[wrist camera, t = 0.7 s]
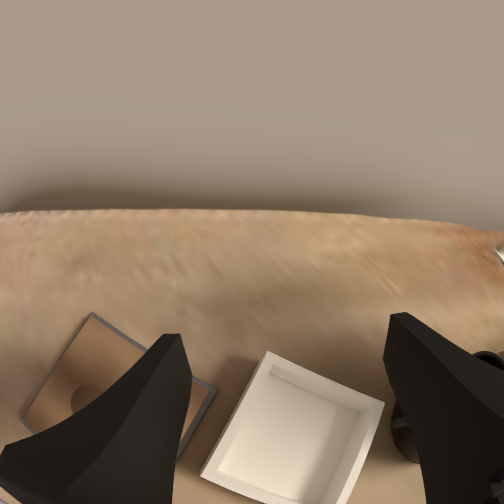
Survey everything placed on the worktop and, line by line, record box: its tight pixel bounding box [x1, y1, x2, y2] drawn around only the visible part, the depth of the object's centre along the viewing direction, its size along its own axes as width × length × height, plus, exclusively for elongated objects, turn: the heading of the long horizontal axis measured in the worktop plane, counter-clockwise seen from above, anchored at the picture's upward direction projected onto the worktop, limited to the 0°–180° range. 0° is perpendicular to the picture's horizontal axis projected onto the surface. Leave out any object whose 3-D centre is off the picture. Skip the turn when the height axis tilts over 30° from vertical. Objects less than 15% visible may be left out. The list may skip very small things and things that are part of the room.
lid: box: [23, 316, 209, 441], centre depth 19 cm, size 12×12×5 cm
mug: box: [391, 351, 504, 463], centre depth 20 cm, size 9×12×9 cm
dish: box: [200, 351, 385, 504], centre depth 21 cm, size 11×11×4 cm
